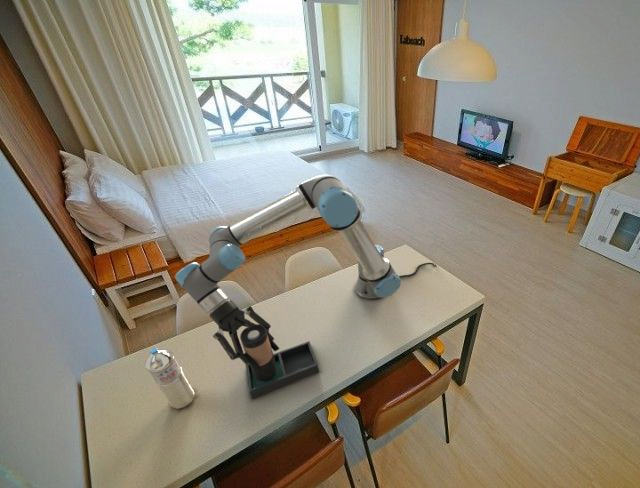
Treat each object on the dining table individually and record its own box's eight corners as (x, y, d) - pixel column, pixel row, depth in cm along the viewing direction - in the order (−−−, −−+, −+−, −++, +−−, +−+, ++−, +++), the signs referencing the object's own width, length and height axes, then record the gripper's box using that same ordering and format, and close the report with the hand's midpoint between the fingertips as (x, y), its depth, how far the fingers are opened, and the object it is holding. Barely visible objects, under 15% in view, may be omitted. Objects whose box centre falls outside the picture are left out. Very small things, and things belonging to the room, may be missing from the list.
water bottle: (169, 413, 100) (136, 364, 86) (173, 394, 105) (141, 344, 92) (194, 405, 103) (165, 356, 89) (196, 386, 108) (169, 337, 94)
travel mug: (270, 384, 106) (257, 345, 95) (249, 379, 107) (234, 340, 96) (281, 365, 112) (270, 326, 101) (261, 360, 114) (249, 322, 102)
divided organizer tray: (310, 348, 122) (309, 341, 120) (319, 372, 114) (317, 364, 112) (248, 371, 113) (245, 364, 111) (252, 399, 105) (249, 391, 103)
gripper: (241, 290, 110) (285, 339, 113) (185, 331, 95) (238, 386, 98) (249, 283, 105) (294, 334, 109) (192, 325, 90) (247, 383, 93)
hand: (267, 359), depth 103 cm, fingers closed on travel mug, 7 cm apart
